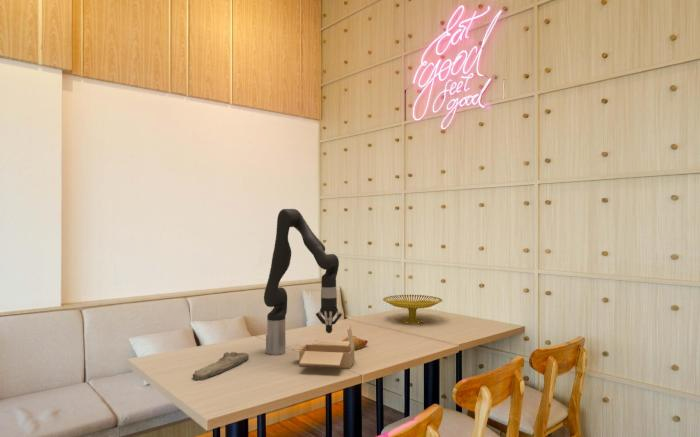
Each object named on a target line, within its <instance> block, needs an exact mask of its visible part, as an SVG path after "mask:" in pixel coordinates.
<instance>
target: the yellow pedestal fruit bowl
mask: <svg viewBox="0 0 700 437" xmlns="http://www.w3.org/2000/svg"><path fill="white" fill-rule="evenodd" d="M382 300H383V301H384V302H385V303H387V304H389V305H391V306H393V307H396V308H401V309H407V311H408V317H406V318H403V320H401V322H402V321H403V322H402V323H404V322H408V323H407V324H410V323H417V324H419V323H418V322H422V321H423V320H422V319H421V318H419V317H417V310H418V309H425V308H426V309H427V308H431V307H434V306H435V305H438V304H439V303H441V302H443V299H442V298H440V297H437V296H431V295H425V294H424V295H421V294H398V295H389V296H386V297H383V298H382ZM422 323H423V322H422Z"/></svg>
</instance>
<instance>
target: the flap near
mask: <svg viewBox="0 0 700 437" xmlns="http://www.w3.org/2000/svg"><path fill="white" fill-rule="evenodd" d="M342 357H343V353H342V352H318V351H305V353H304V355H303V357H302V359H301V361H300V364H311V365H332V366H340V363H341V360H342Z"/></svg>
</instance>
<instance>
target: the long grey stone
mask: <svg viewBox="0 0 700 437" xmlns="http://www.w3.org/2000/svg"><path fill="white" fill-rule="evenodd" d="M249 358H250V357H249V354H248V353H247V352H236V351H231V352H228V351H226V352H224V353H223V356H222V357H221V358H219V359H218V360H217V361H215V362H212V363H211V364H208V365H206V366H204V367H202V368H200V369H198V370H195V371H194V372H193V373H192V378H193V379H194V380H195V381H198V380H199V381H204V379H205V380H206V379H208V378H211V377H213V376H216V375H220V374H222V373H225V372H226V371H229V370H230V369H232V368H234V367H237V366H239V365H241V364H243V363H244V364H245V362H246V361H247V360H248V359H249ZM221 372H222V373H221Z"/></svg>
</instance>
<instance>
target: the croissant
mask: <svg viewBox="0 0 700 437" xmlns="http://www.w3.org/2000/svg"><path fill="white" fill-rule="evenodd" d="M352 336H353V342H354V351H357V350H359V349H362V348H364V347H366V345H367V344H368V343H369V341H368V340H366V339H362V338H359V337H357V336H354V335H352ZM340 341H349V337H348V336H347V337H346V338H344V339H342V340H340ZM349 346H350V344H349Z"/></svg>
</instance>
